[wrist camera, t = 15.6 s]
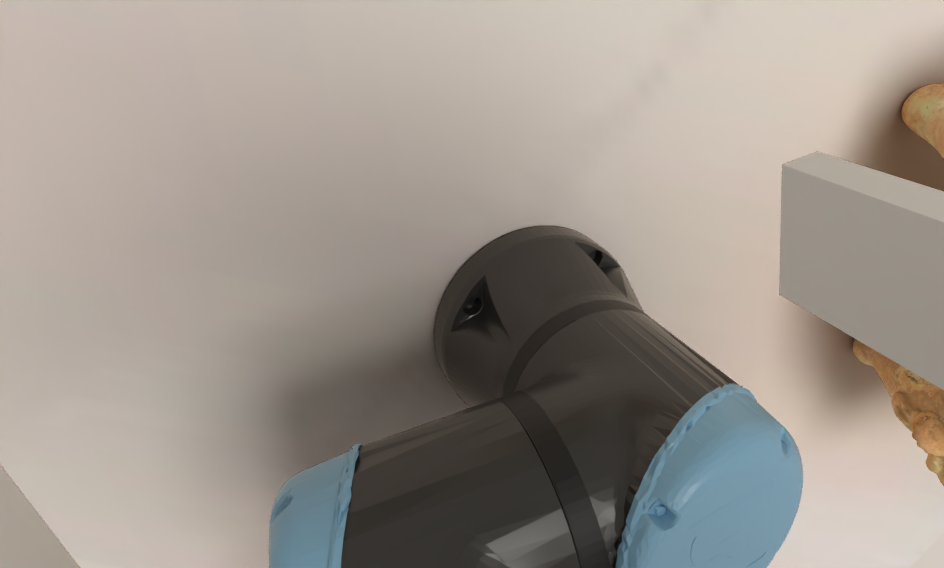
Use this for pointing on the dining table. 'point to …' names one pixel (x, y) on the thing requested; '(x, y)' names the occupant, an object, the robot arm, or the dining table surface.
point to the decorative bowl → (913, 398)
